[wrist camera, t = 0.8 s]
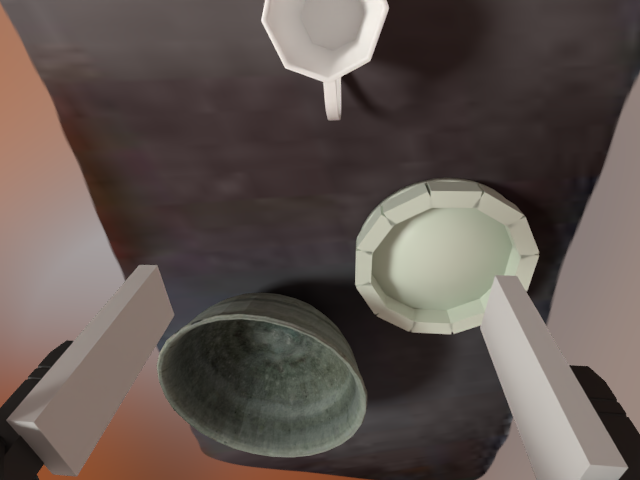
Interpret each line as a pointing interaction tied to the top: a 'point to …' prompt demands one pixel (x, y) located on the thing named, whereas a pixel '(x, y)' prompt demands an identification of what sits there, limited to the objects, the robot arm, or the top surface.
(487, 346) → the robot arm
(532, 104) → the top surface
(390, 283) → the tray
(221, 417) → the bowl
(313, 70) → the cup
